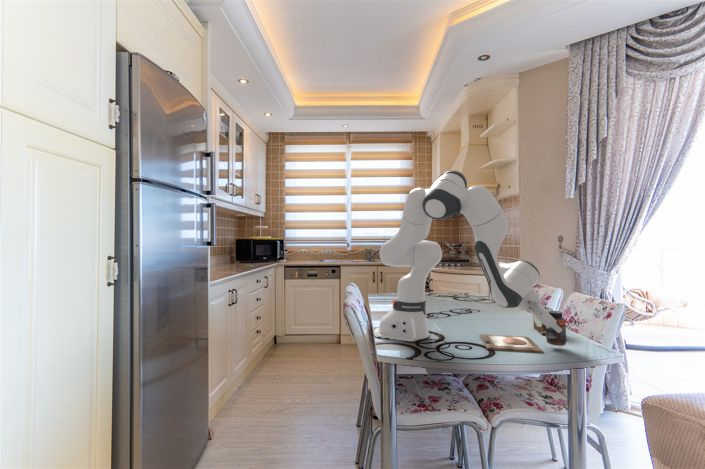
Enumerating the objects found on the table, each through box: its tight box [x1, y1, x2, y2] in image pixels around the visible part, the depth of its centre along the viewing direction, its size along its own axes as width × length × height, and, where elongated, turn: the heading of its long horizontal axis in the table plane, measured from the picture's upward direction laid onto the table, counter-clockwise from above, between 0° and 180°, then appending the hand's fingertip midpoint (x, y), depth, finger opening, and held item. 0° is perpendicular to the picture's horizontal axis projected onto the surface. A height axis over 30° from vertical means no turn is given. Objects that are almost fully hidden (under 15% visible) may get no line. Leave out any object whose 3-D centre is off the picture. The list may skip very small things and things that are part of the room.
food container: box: [532, 305, 554, 336], centre depth 135 cm, size 12×6×10 cm, turn 168°
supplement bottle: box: [545, 310, 567, 347], centre depth 115 cm, size 6×6×11 cm
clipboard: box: [479, 333, 544, 354], centre depth 120 cm, size 18×16×2 cm
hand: (557, 328), depth 114 cm, fingers closed on supplement bottle, 6 cm apart
